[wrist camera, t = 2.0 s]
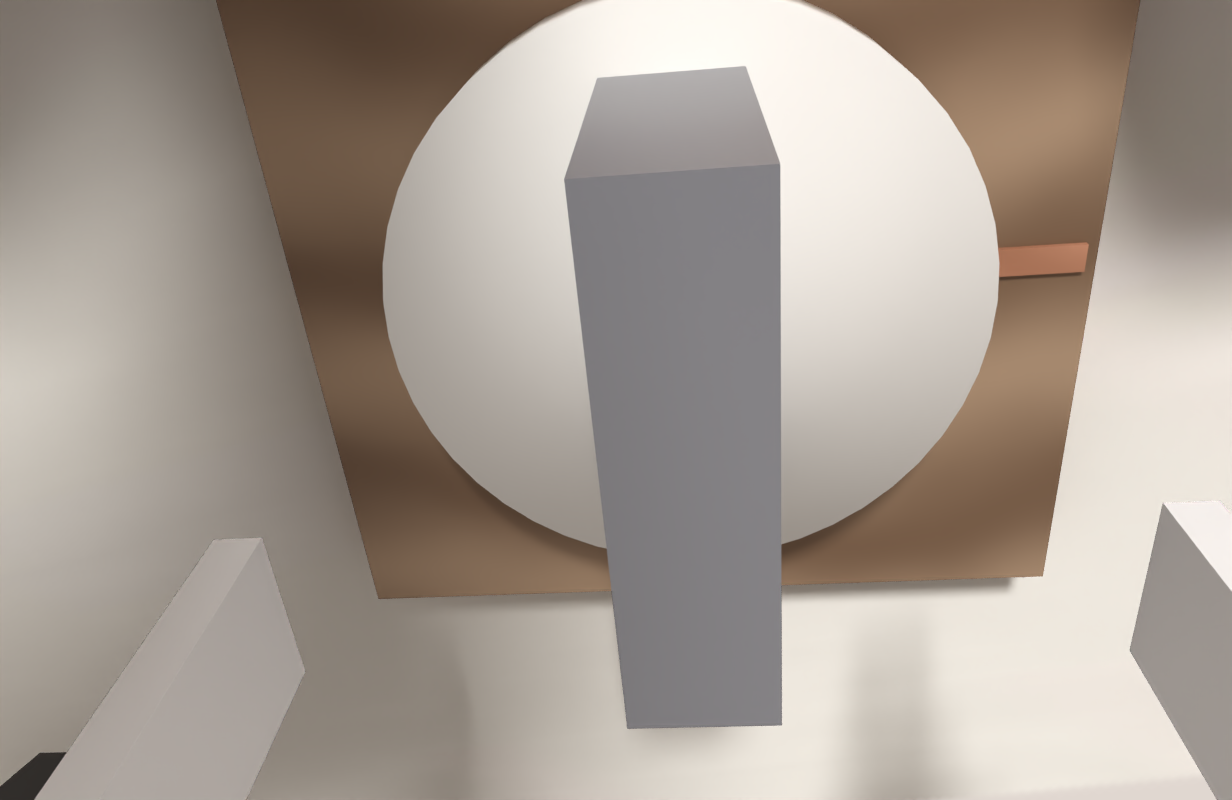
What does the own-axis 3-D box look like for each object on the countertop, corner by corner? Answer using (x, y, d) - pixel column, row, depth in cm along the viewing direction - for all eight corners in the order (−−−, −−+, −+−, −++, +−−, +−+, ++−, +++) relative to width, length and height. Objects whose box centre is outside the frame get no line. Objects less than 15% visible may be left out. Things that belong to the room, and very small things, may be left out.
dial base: (218, -136, 22) (176, -135, 20) (1136, -230, 20) (1183, -239, 18) (394, 557, 32) (377, 602, 30) (1021, 534, 30) (1044, 579, 28)
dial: (346, 8, 21) (154, 100, 13) (1006, -50, 20) (1225, 13, 12) (454, 523, 28) (370, 784, 20) (949, 502, 27) (1064, 772, 19)
